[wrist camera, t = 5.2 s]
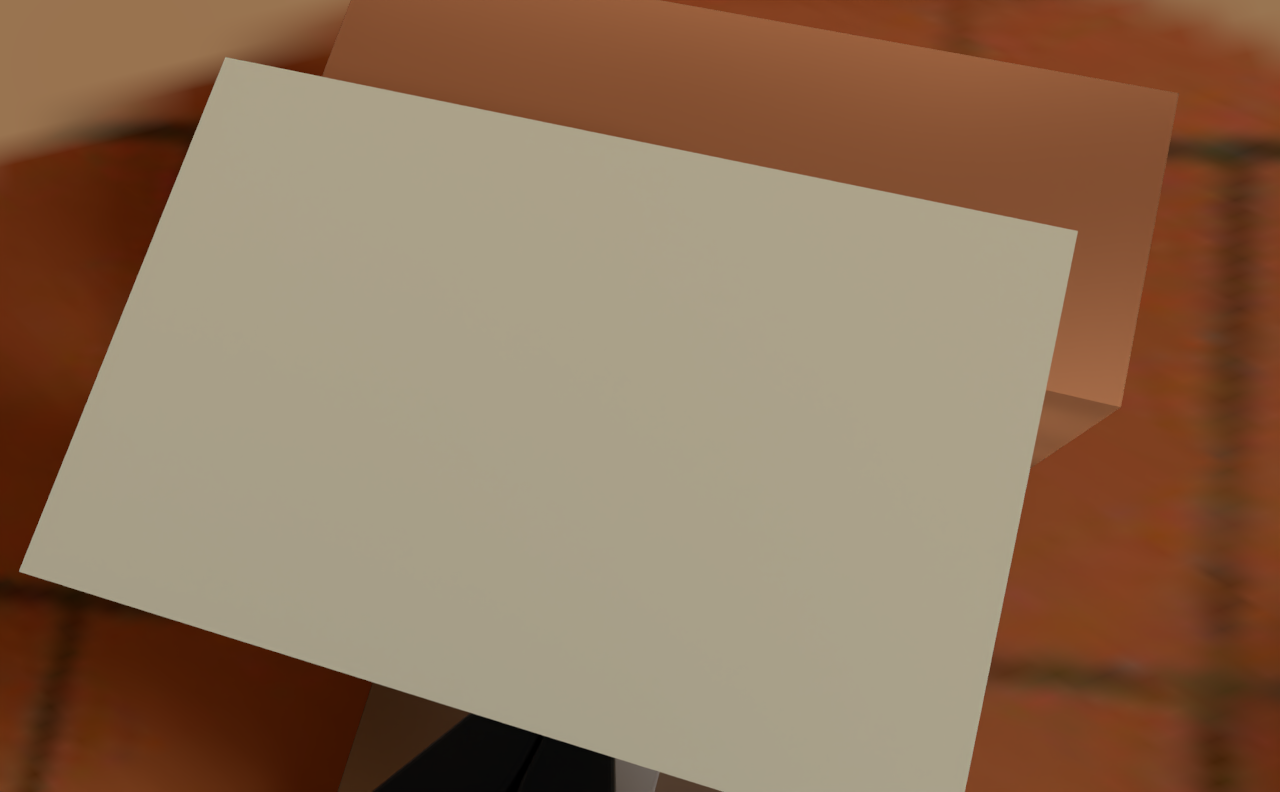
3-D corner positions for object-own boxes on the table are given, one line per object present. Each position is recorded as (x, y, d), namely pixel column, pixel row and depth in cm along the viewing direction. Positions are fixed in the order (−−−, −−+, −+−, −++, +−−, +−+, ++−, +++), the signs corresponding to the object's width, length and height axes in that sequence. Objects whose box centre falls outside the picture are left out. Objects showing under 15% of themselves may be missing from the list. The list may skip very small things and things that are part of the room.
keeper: (849, 735, 14) (1000, 878, 5) (437, 613, 15) (-16, 559, 6) (905, 485, 15) (1123, 241, 6) (509, 385, 16) (192, 50, 7)
